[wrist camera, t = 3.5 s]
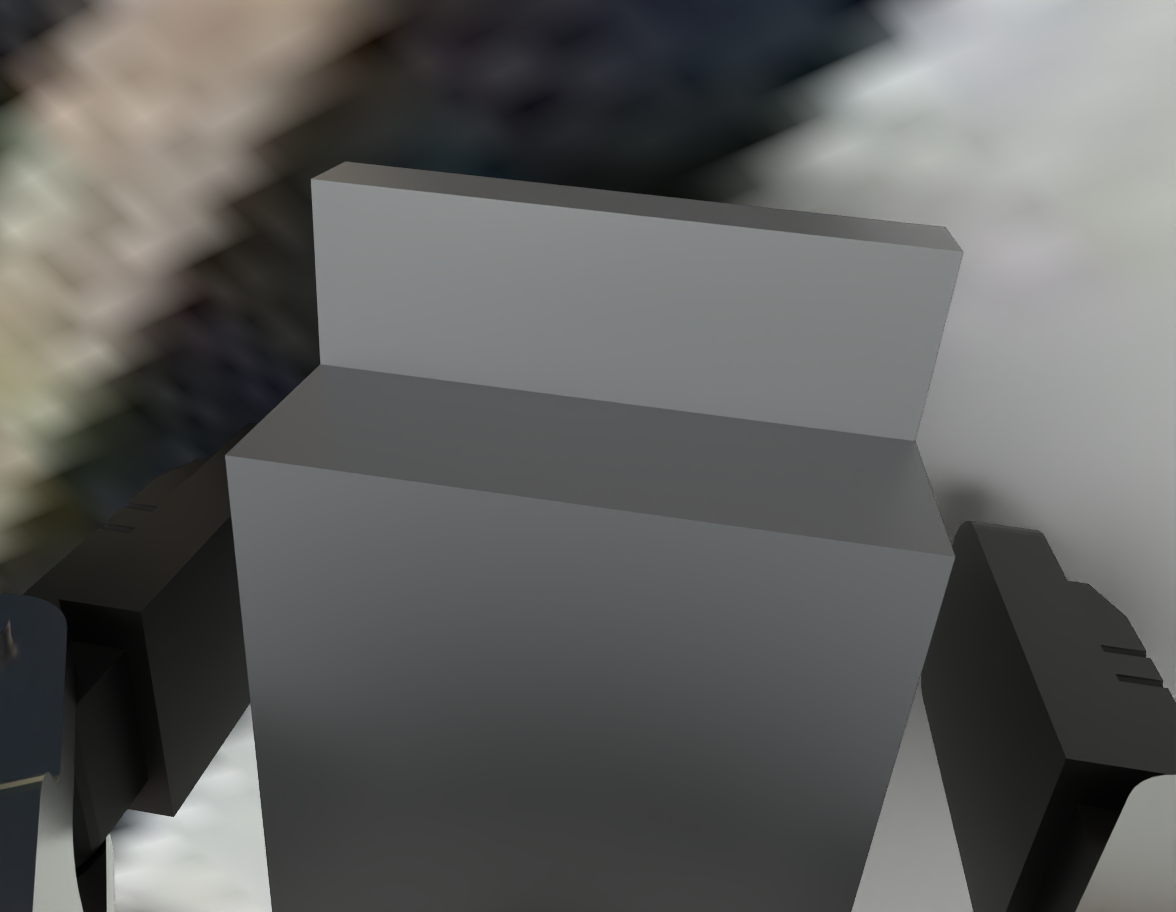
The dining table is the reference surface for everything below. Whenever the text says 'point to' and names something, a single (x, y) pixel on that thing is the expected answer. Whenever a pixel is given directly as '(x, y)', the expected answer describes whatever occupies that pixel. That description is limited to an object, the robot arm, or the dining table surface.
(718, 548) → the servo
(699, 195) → the dining table surface
